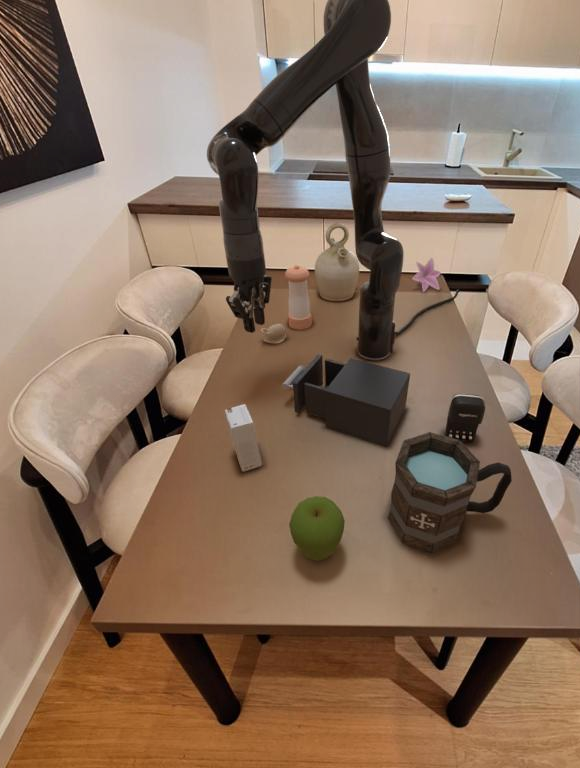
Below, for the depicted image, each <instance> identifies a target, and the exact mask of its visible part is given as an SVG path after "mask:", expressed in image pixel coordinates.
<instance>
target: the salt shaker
mask: <svg viewBox="0 0 580 768" xmlns="http://www.w3.org/2000/svg"><path fill="white" fill-rule="evenodd" d="M284 277H285V279H287V281H288V300H287V301H288V303H287V305H288V306H287V307H288V314H287V318H288V326H289V327H290V328H291V329H293V330H301V331H302V330H306V329H309V328H311V327H312V325H313V320H312V318H313V317H312V312H311V302H310V298H309V291H308V279H309V278H310V271H309V269H307V267H304V266H303V265H302V266H301V265H299V264H295V265H293V266H290V267H288V268H287V269H286V270H285V273H284Z"/></svg>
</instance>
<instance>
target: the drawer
mask: <svg viewBox="0 0 580 768" xmlns="http://www.w3.org/2000/svg"><path fill="white" fill-rule="evenodd" d="M323 362H324V363H323ZM323 364H324V365H323ZM345 364H346V362H345V363H344V362H340V361H336V360H333V359H329V358H325V359H324V361H323V354H320V353H318V354H316V356H315V357H314V358H313V359H312V360H311V361H310V362H309V363H308V364H307V366H306V367H305V366H303V365H298V367H297V368H296V369H295V370H293V372H292V373H291V374H290V375H289V376H288V378H286V379H285V381H283V382H282V384H281V387H282V389H284V390H288V389H290V390H292V393H293V394H292V395H293V406H294V413H296V414H301V412H302V411H303V410H304V409H305V413H306V414H309V415H312V416H316V417H318V418H322V419H324V420H326V415H325V390H326V389H327V388H328V386H329V385H330V384H331V382H332V381H333V380H334V378H335V377H336V376H337V375H338V373H339V372H340V371H341V369H342V368H343V367H344V366H345ZM323 366H324V368H323Z"/></svg>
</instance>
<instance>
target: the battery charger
mask: <svg viewBox="0 0 580 768" xmlns="http://www.w3.org/2000/svg"><path fill="white" fill-rule="evenodd" d="M485 412H486V403H485V399H484V398H483V397H482V396H481V395H479V394H471V393H455V394H453V396H452V397H451V399H450V402H449V405H448V410H447V415H446V422H445V427H444V429H443V434H444V436H446V437H450V438H454V439H457V440H460V441H461V442H462V443H473V442H475V440H476V434H477V431H478V428H479V425H481V424H482V422H483V420H484V416H485Z"/></svg>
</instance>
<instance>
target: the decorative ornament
mask: <svg viewBox="0 0 580 768" xmlns="http://www.w3.org/2000/svg"><path fill="white" fill-rule="evenodd" d="M260 332H261V333H262V334H263V335H264V338H263V340H262V341H263V342H265V343H268V344H273V345H274V344H280V343H283V342H284V341H285V339H286V337H287V333H286V329H285V327H284V326H283V325H282V324H281V323H275V324H273V325H271V326H269V327H268V328H265V327H264V328H261V329H260Z"/></svg>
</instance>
